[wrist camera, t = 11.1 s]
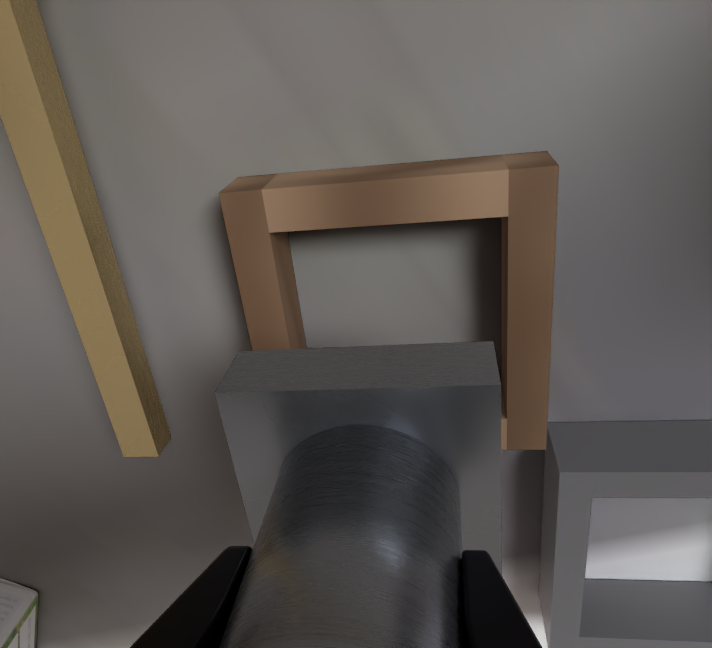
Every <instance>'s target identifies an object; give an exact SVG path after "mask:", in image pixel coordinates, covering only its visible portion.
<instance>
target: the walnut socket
mask: <svg viewBox="0 0 712 648" xmlns="http://www.w3.org/2000/svg"><path fill="white" fill-rule="evenodd" d="M558 173H559V165H558V164H557V163H556V162H555V160H554V159H553V158H552V157H551V156H550V154H549V153H548V152H547V151H542V152H530V153H518V154H506V155H495V156H483V157H471V158H459V159H447V160H436V161H424V162H412V163H400V164H388V165H377V166H365V167H353V168H341V169H329V170H317V171H306V172H294V173H282V174H270V175H258V176H247V177H238V178H237V179H236V180H234V181H233V182H232V183H231V184H229V185H228V186H227V187H226V188H224V189H223V190H222V191H220V192H219V197H220V202H221V207H222V211H223V216H224V221H225V225H226V230H227V235H228V239H229V244H230V248H231V253H232V258H233V262H234V267H235V272H236V276H237V281H238V286H239V290H240V295H241V300H242V304H243V309H244V313H245V318H246V323H247V327H248V332H249V337H250V341H251V346H252V351H257V350H282V349H307V346H306V340H305V334H304V329H303V323H302V317H301V311H300V305H299V299H298V293H297V287H296V281H295V275H294V269H293V263H292V257H291V251H290V245H289V239H288V233H287V232H288V231H303V230H317V229H332V228H347V227H361V226H376V225H390V224H405V223H420V222H434V221H449V220H463V219H478V218H493V217H502V244H501V450H546V442H547V419H548V397H549V375H550V352H551V330H552V307H553V285H554V263H555V240H556V218H557V196H558Z"/></svg>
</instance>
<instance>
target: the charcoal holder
mask: <svg viewBox="0 0 712 648" xmlns="http://www.w3.org/2000/svg"><path fill="white" fill-rule="evenodd" d="M592 498H712V420H689V421H620V422H552V423H547V442H546V450H545V465H544V487H543V510H542V533H541V556H540V579H539V599H540V605H541V610H542V616H543V622H544V627H545V633H546V639H547V644H548V648H712V582H683V581H644V580H604V579H585V569H586V558H587V547H588V536H589V526H590V515H591V504H592Z"/></svg>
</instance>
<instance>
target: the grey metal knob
mask: <svg viewBox="0 0 712 648" xmlns="http://www.w3.org/2000/svg"><path fill="white" fill-rule="evenodd" d="M215 397H216V401H217V404H218V408H219V412H220V416H221V420H222V424H223V427H224V431H225V435H226V439H227V443H228V446H229V450H230V454H231V458H232V462H233V466H234V469H235V473H236V477H237V481H238V485H239V489H240V492H241V496H242V500H243V504H244V508H245V512H246V515H247V519H248V523H249V527H250V531H251V534H252V538H253V542H254V547H253V550H252V553H251V556H250V559H249V562H248V565H247V568H246V570H245V573H244V576H243V579H242V582H241V585H240V588H239V591H238V594H237V596H236V599H235V602H234V605H233V608H232V611H231V614H230V617H229V620H228V622H227V625H226V628H225V631H224V634H223V637H222V640H221V643H220V646H219V648H467V646H466V635H465V617H464V596H463V575H462V552H463V551H464V550H485V551H487V552H488V553H489V555H490V556H491V558H492V560H493V561H494V563H495V565H496V567H497V569H498V570H499V572H500V574H501V576H502V538H501V381H500V376H499V370H498V365H497V359H496V353H495V348H494V342H493V341H484V342H458V343H433V344H408V345H383V346H358V347H332V348H307V349H282V350H257V351H239V352H238V354H237V356H236V357H235V359H234V361H233V363H232V364H231V366H230V368H229V369H228V371H227V373H226V374H225V376H224V378H223V379H222V381H221V383H220V384H219V386H218V388H217V389H216V391H215Z"/></svg>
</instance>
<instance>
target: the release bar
mask: <svg viewBox="0 0 712 648" xmlns="http://www.w3.org/2000/svg"><path fill="white" fill-rule="evenodd" d="M0 116H1V118H2V121H3V124H4V127H5V130H6V132H7V135H8V138H9V141H10V143H11V146H12V149H13V152H14V154H15V157H16V160H17V163H18V166H19V168H20V171H21V174H22V177H23V179H24V182H25V185H26V188H27V190H28V193H29V196H30V199H31V201H32V204H33V207H34V210H35V213H36V215H37V218H38V221H39V224H40V226H41V229H42V232H43V235H44V237H45V240H46V243H47V246H48V249H49V251H50V254H51V257H52V260H53V262H54V265H55V268H56V271H57V273H58V276H59V279H60V282H61V285H62V287H63V290H64V293H65V296H66V298H67V301H68V304H69V307H70V309H71V312H72V315H73V318H74V321H75V323H76V326H77V329H78V332H79V334H80V337H81V340H82V343H83V345H84V348H85V351H86V354H87V357H88V359H89V362H90V365H91V368H92V370H93V373H94V376H95V379H96V381H97V384H98V387H99V390H100V393H101V395H102V398H103V401H104V404H105V406H106V409H107V412H108V415H109V417H110V420H111V423H112V426H113V428H114V431H115V434H116V437H117V440H118V442H119V445H120V448H121V451H122V453H123V456H124V457H159V455H160V454H161V452H162V451H163V449H164V447H165V446H166V444H167V443H168V441H169V440H170V438H171V435H170V432H169V429H168V425H167V422H166V419H165V416H164V412H163V409H162V406H161V403H160V400H159V396H158V393H157V390H156V387H155V383H154V380H153V377H152V374H151V371H150V367H149V364H148V361H147V358H146V354H145V351H144V348H143V345H142V341H141V338H140V335H139V332H138V329H137V325H136V322H135V319H134V316H133V312H132V309H131V306H130V303H129V300H128V296H127V293H126V290H125V287H124V283H123V280H122V277H121V274H120V270H119V267H118V264H117V261H116V258H115V254H114V251H113V248H112V245H111V241H110V238H109V235H108V232H107V228H106V225H105V222H104V219H103V216H102V212H101V209H100V206H99V203H98V199H97V196H96V193H95V190H94V187H93V183H92V180H91V177H90V174H89V170H88V167H87V164H86V161H85V157H84V154H83V151H82V148H81V145H80V141H79V138H78V135H77V132H76V128H75V125H74V122H73V119H72V115H71V112H70V109H69V106H68V103H67V99H66V96H65V93H64V90H63V86H62V83H61V80H60V77H59V74H58V70H57V67H56V64H55V61H54V57H53V54H52V51H51V48H50V44H49V41H48V38H47V35H46V32H45V28H44V25H43V22H42V19H41V15H40V12H39V9H38V6H37V3H36V0H0Z"/></svg>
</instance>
